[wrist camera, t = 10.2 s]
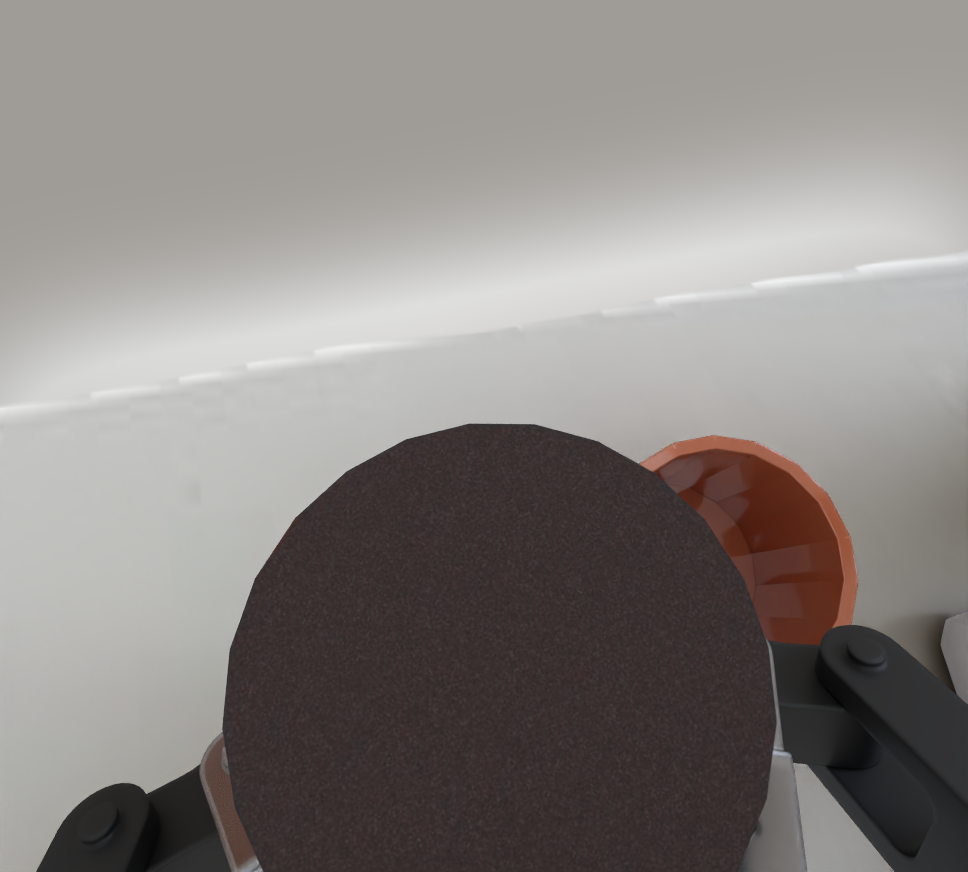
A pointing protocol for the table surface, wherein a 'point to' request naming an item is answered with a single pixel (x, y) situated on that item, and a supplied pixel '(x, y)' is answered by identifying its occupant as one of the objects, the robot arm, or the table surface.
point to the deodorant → (499, 670)
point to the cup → (769, 531)
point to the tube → (957, 652)
